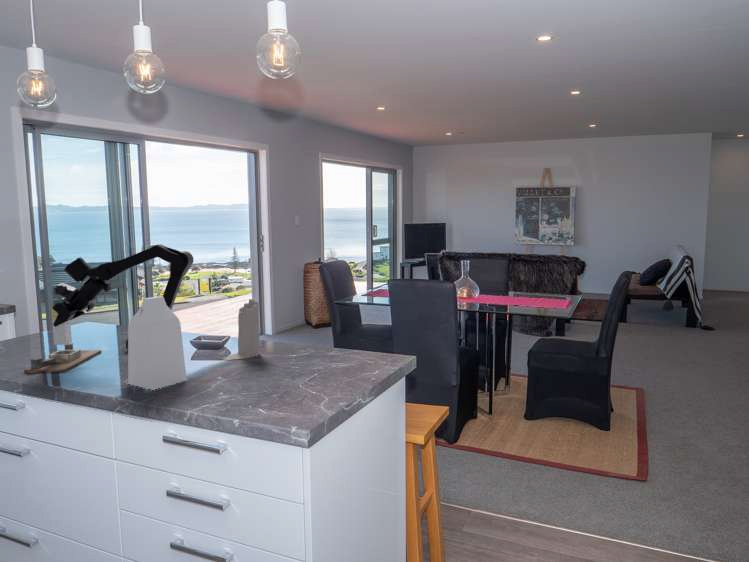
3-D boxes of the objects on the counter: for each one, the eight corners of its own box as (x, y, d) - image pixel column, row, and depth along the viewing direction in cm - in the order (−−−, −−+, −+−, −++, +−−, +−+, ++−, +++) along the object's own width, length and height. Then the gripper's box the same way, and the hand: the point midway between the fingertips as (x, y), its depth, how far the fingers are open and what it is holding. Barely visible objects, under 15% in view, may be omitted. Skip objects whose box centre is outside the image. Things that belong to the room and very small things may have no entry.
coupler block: (71, 342, 196) (69, 304, 195) (66, 344, 192) (63, 306, 191) (59, 342, 196) (57, 305, 194) (54, 344, 192) (51, 306, 191)
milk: (152, 390, 164) (148, 301, 161) (128, 384, 170) (123, 298, 167) (186, 380, 174) (182, 296, 171) (162, 374, 180) (158, 293, 177)
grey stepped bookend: (218, 357, 201) (216, 302, 199) (253, 351, 210) (252, 298, 208) (228, 361, 196) (226, 304, 194) (263, 355, 205) (262, 300, 203)
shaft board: (101, 352, 209) (100, 342, 209) (65, 372, 183) (64, 360, 183) (65, 353, 209) (64, 342, 208) (24, 373, 183) (23, 360, 182)
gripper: (82, 272, 201) (52, 304, 202) (56, 278, 182) (23, 313, 183) (106, 294, 202) (77, 325, 203) (83, 302, 184) (50, 336, 184)
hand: (57, 324), depth 193 cm, fingers closed on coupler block, 4 cm apart
